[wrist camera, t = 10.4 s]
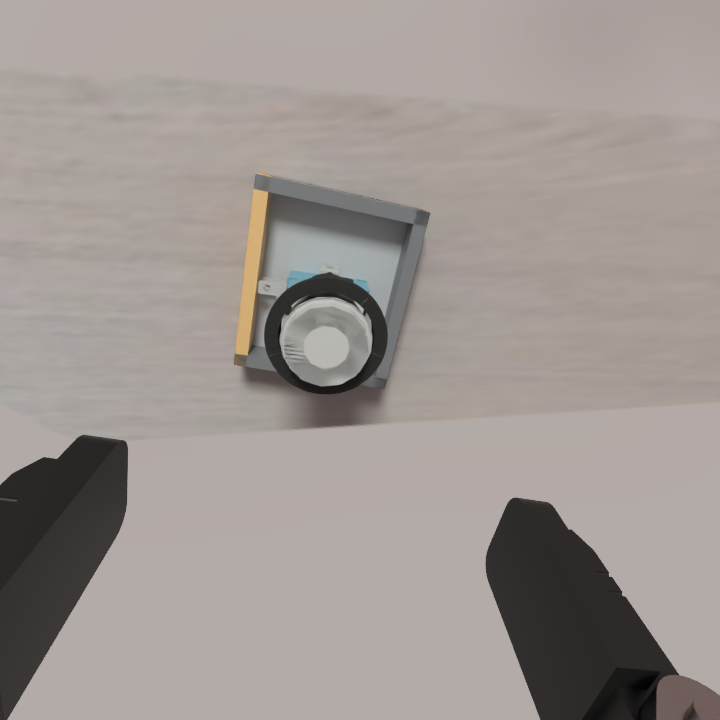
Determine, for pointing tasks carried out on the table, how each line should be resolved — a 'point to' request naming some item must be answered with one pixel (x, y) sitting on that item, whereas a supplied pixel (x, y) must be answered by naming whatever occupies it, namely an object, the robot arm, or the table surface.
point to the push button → (323, 330)
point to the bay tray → (326, 255)
